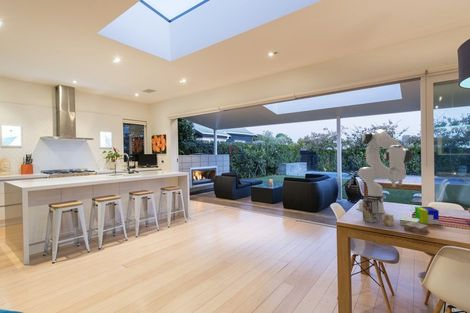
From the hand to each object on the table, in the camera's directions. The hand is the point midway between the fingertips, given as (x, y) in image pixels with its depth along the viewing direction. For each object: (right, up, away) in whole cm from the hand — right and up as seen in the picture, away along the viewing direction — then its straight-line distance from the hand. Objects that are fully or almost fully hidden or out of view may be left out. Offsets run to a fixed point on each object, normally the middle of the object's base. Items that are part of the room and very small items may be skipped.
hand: (397, 185), depth 172 cm
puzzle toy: (+23, -27, +2) cm, 36 cm away
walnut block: (+3, -29, -14) cm, 32 cm away
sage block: (+8, -28, -2) cm, 29 cm away
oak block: (-7, -28, -1) cm, 29 cm away
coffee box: (-14, -28, +9) cm, 33 cm away
